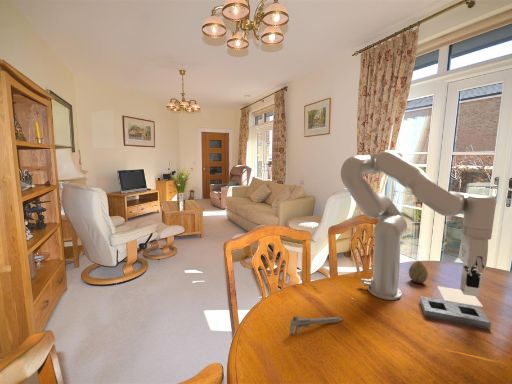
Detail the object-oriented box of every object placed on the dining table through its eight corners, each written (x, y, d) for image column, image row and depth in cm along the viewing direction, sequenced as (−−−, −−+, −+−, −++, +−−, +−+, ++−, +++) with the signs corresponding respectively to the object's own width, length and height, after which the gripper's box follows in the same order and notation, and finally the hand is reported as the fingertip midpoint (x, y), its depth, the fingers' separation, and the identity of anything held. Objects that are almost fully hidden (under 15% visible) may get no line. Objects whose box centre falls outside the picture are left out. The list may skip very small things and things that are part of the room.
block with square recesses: (424, 318, 91) (425, 310, 91) (419, 303, 100) (420, 296, 100) (489, 331, 84) (491, 322, 84) (478, 314, 93) (479, 306, 93)
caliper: (291, 336, 83) (291, 318, 82) (289, 334, 84) (289, 316, 83) (342, 321, 91) (343, 304, 90) (340, 319, 92) (341, 302, 91)
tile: (444, 301, 101) (444, 300, 101) (436, 287, 112) (437, 286, 112) (483, 308, 97) (483, 306, 97) (471, 292, 108) (471, 291, 107)
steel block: (463, 294, 88) (466, 272, 87) (460, 288, 92) (462, 267, 91) (478, 296, 87) (481, 274, 86) (474, 291, 90) (476, 269, 89)
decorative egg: (430, 286, 113) (432, 264, 112) (414, 286, 113) (415, 264, 112) (420, 278, 120) (421, 257, 119) (404, 278, 120) (406, 258, 119)
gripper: (455, 224, 95) (449, 271, 98) (471, 238, 80) (464, 293, 83) (480, 226, 92) (474, 275, 95) (502, 241, 77) (494, 298, 80)
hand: (469, 283), depth 89 cm, fingers closed on steel block, 4 cm apart
